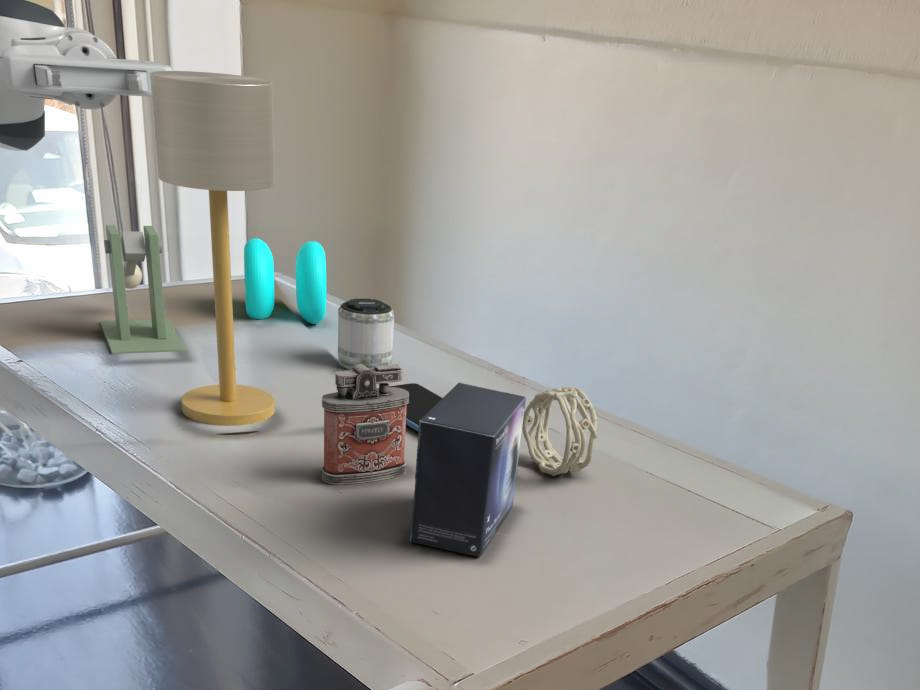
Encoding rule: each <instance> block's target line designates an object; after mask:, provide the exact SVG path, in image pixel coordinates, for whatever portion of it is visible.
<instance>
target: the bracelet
mask: <svg viewBox="0 0 920 690" xmlns="http://www.w3.org/2000/svg"><path fill="white" fill-rule="evenodd" d="M579 398H580V399H581V400H580V399H579ZM554 400H555V401H557V402H558V405H559V407H560V410H561V413H562V415H563V418H564V420H565V427H566V432H565V433H566V434H565V435H566V439H565V446H564V453H563V457H562V456H561V455H560V454H559V453H557V452H558V451H556V450H555V448H554V447H553V446H552V444H551V442H550V440H549V425H550V418H551V412H552V411H551V410H552V405H553V401H554ZM531 410H532V411H533V414H534V417H532V415H531V416H530V412H531ZM577 411H578V412H579V414H580V416H581V417H582V419H581V420H579V421H578V420H577V419H576V413H577ZM587 411H588V412H587ZM544 413H545V414H544ZM588 413H589V414H590V415H589V414H588ZM543 415H544V421H543ZM597 425H598V419H597V413H596V410H595V407H594V406H593V403H591V401H590V399H589V398H588V396H587V395H586V393H585V392H584V391H583V390H581V388H579V387H575V386H569V385H567V386H562V387H557V388H552V390H545V391H542V392H539V393H537V394H535V395H534V397H533V399H531V401H529V404H528V405H527V406H526V407H525V410H524V418H523V426H522V434H523V437H524V439H525V441H526V446H527V449H528V454H529V456H530V458H531V460H532V462H533V463H535V464H536V465H538V470H539V471H541V472H543V473H544V474H548V475H550V476H553V477H556V476H559V475H562V474H567V473H568V472H569V470H570V471H571V473H578V472H580V471H581V470H584V469H585V468H586V467H589V465H590V464H591V462H592V459H593V453H594V447H595V443H596V442H595V441H596V439H597V438H598V433H597ZM527 426H529V427H530V426H531V427H530V429H529V431H528V427H527ZM587 429H588V430H589V433H590V435H589V438H588V445H587V436H586V433H585V430H587ZM534 434H535V436H534ZM573 436H574V441H572V440H573V439H572V438H573ZM533 437H534V440H535V443H534V440H533ZM541 443H543V447H544V451H543V449H542V446H541ZM586 447H587V452H586V457H585V459H584V461H583V459H582V458H583V456H584V454H585V451H586Z"/></svg>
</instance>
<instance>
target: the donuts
mask: <svg viewBox="0 0 920 690" xmlns="http://www.w3.org/2000/svg"><path fill="white" fill-rule="evenodd" d="M295 259H296V260H295V296H296V305H297V310H298V312H299V314H300V316H301V317H302V318H303V320H304V321H306V322H307V323H309V324H312V325H316V324H319V323H321V322H323V320H324V319H325V316H326V313H327V311H326V310H327V261H326V251H325V249H324V246H322V245H321V243H319V242H318V241H314V240H310V241H307V242H305V243H304V244H302V245H301V247H300V248H299V250H298V252H297V256H296V258H295ZM274 263H275V262H274V256H273V253H272V250H271V248H270V247H269V245H268V244H267V243H266V242H265V241H264V240H262V239H260V238H257V237H255V238H251V239H249V240H247V241H246V243H244V247H243V269H244V296H245V297H244V298H245V312H246V315H247V316H248V318H250V319H254V320H265V319H268V318H269V317H270V316H271V314H272V313H273V311H274V308H275V301H276V300H275V267H274V266H275V265H274Z"/></svg>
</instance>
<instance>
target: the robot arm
mask: <svg viewBox="0 0 920 690" xmlns="http://www.w3.org/2000/svg"><path fill="white" fill-rule="evenodd" d="M155 71H173V68H172V67H171V66H170V65H168V64H165V63H161V62H157V61H151V60H140V59H138V60H137V59H125V58H117V56H116V54H115V52H114V51H113V50H112V49H111V47H109V45H108V44H107V43H106V42H105V41H103V40H102V39H100V38H99V37H98V36H97V35H94V34H93V33H91V32H89V31H87V30H85V29H83V28H78V27H73V26H72V27H71V26H65V24H64V22H63V20H62V19H61V18H60V17H59V16H58V15H57V14H56V12H55V11H53V10H52V9H50V8H48V7H46V6H43V5H40V4H39V3H35V2H33V1H29V0H0V149H1V148H2V149H5V150H7V151H15V152H16V151H17V152H21V151H29V150H30V149H32V148H33V147H35V146H36V145H37V144H38V143H39V142H41V141H42V140H43V138H44V137H45V136H46V111H45V103H46V100H51V101H52V100H54V101H58V102H61V103H64V104H67V105H70V106H72V105H73V106H75V107H77V108H80V109H83V110H90V111H91V110H99V109H103V108H105V107H106V106H109V105H110V104H111V103H113V102H114V100H115V99H116V97H117V96H131V97H148V98H149V97H150V98H152V92H151V79H150V73H151V72H155Z"/></svg>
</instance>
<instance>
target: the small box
mask: <svg viewBox="0 0 920 690" xmlns="http://www.w3.org/2000/svg"><path fill="white" fill-rule="evenodd" d="M526 401H527V397H526V396H524V395H519V394H514V393H510V392H505V391H499V390H495V389H490V388H485V387H482V386H477V385H472V384H468V383H463V382H458V383H457V384H456V385H455V386H453V388H451V389H450V390H449V392H447V394H445V395H444V396H443V397H442V399H441V400H440V401H439V402H438V403H437V404H436V405H435V406H434V407H433V408H432V409H431V410H430V411H429V412H428V413H427V414H426V415H425V416H424V417H423V418H422V419H421V420H420V421H419V432H418V431H417V446H416V460H415V461H416V463H415V474H414V479H415V480H414V491H413V503H412V504H413V506H412V516H411V525H410V535H409V542H410V543H414V544H418V545H423V546H428V547H431V548H437V549H441V550H446V551H450V552H454V553H459V554H464V555H466V556H467V555H468V556H473V557H477V558H480V557H481V556H483V554H484V553H485V551H486V549H487V547H488V546H489V545H490V543H491V541H492V540H493V539H494V537H495V535H496V534H497V532H498V531H499V529H500V528H501V526H502V524H503V523H504V522H505V521H506V519H507V517H508V515H509V514H510V512H511V511H512V509H513V505H514V499H515V492H516V491H515V489H516V481H517V475H518V466H519V459H520V458H519V457H520V450H521V442H522V434H523V430H522V426H523V418H524V412H525V410H526Z"/></svg>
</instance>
